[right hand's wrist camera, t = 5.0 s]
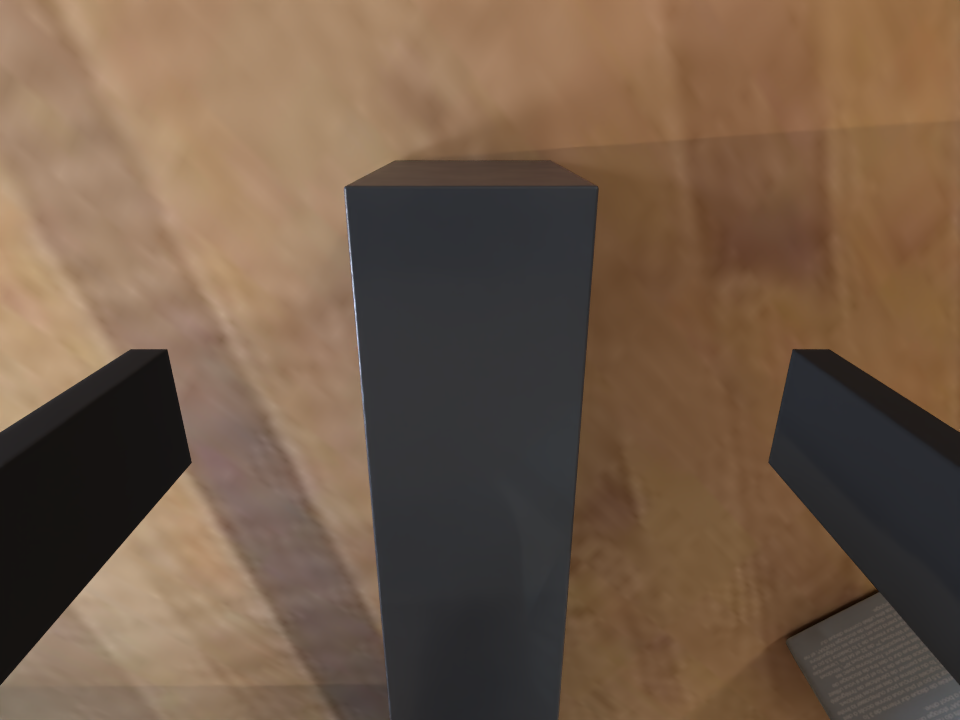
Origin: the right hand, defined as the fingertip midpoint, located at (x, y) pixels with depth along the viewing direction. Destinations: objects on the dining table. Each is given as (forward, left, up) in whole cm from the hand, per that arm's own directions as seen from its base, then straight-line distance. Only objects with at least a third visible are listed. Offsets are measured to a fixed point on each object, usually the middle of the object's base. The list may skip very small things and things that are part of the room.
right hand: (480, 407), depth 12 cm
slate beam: (0, -14, -12) cm, 18 cm away
